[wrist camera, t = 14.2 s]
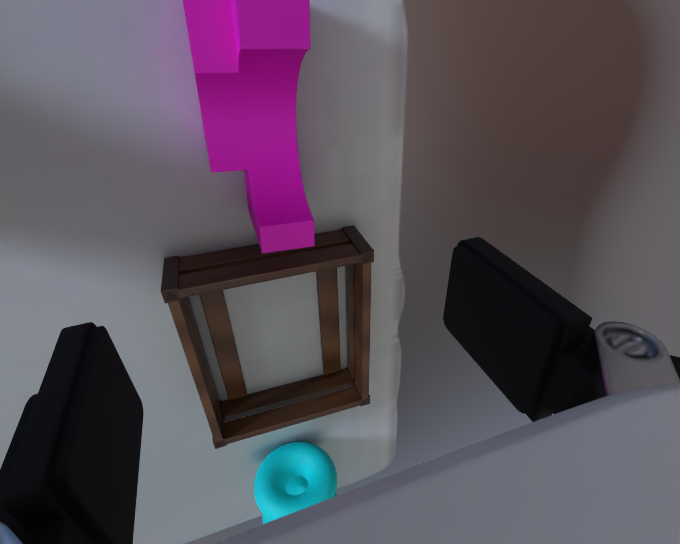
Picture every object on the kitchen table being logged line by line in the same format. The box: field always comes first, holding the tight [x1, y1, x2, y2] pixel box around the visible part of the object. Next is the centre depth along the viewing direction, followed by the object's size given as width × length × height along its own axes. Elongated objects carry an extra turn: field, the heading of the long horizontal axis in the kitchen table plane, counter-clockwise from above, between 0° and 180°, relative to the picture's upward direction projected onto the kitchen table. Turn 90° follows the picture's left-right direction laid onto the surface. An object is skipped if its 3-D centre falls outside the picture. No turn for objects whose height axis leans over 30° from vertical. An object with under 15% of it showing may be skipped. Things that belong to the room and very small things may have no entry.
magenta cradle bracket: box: [183, 0, 315, 253], centre depth 26 cm, size 15×6×8 cm, turn 179°
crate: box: [161, 226, 374, 449], centre depth 39 cm, size 20×17×5 cm
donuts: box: [254, 442, 337, 524], centre depth 49 cm, size 10×10×10 cm
